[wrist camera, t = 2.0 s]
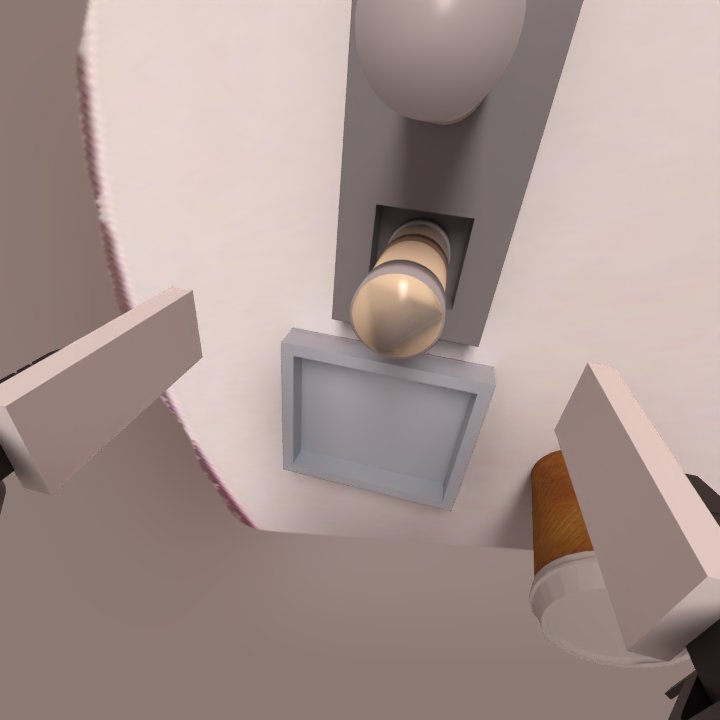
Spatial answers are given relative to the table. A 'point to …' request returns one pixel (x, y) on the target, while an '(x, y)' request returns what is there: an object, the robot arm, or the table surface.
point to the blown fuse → (405, 292)
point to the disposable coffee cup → (573, 576)
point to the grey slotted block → (445, 135)
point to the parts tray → (380, 417)
